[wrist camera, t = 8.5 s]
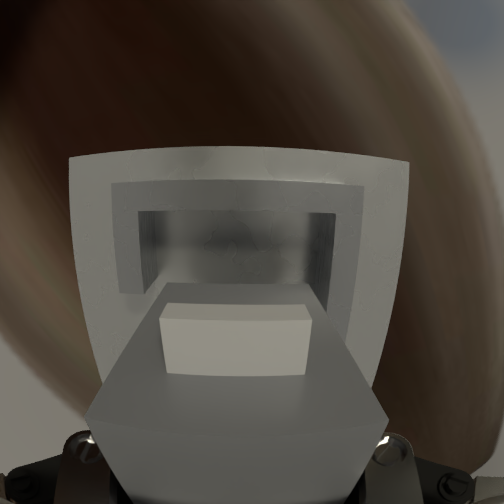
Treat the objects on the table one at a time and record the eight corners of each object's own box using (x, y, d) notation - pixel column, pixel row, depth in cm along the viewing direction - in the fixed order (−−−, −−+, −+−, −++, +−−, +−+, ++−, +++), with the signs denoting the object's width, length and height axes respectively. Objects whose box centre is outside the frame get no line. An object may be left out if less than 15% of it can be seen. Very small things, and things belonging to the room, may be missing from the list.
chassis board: (76, 158, 13) (43, 156, 10) (401, 162, 14) (435, 161, 11) (112, 395, 17) (98, 425, 14) (362, 397, 18) (377, 426, 15)
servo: (165, 248, 9) (23, 404, 2) (310, 250, 9) (449, 409, 2) (189, 443, 11) (172, 574, 4) (287, 444, 11) (309, 574, 4)
